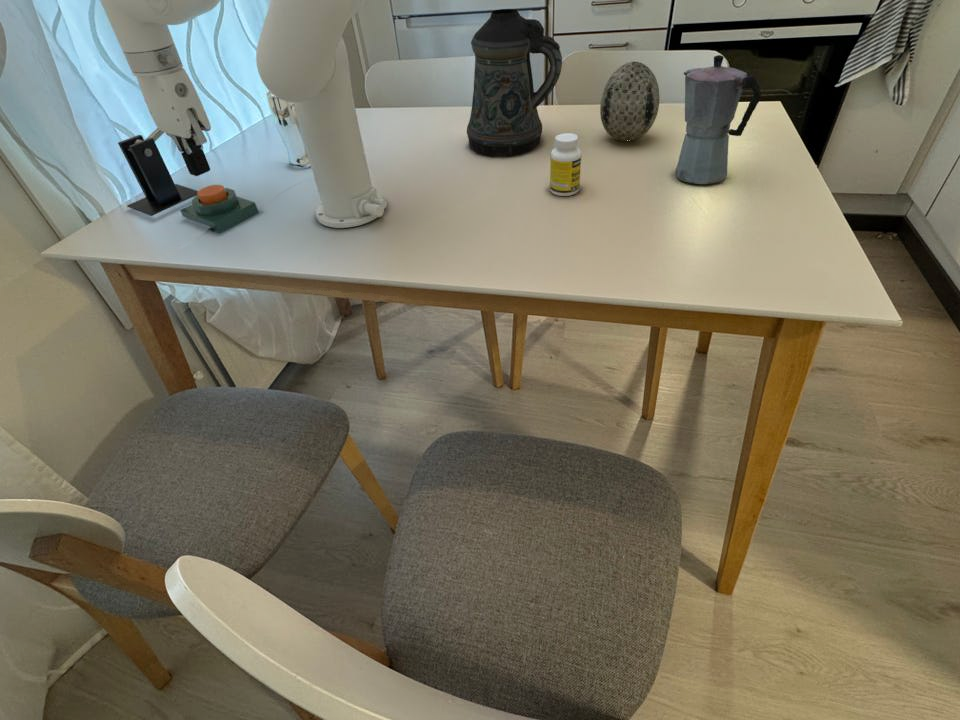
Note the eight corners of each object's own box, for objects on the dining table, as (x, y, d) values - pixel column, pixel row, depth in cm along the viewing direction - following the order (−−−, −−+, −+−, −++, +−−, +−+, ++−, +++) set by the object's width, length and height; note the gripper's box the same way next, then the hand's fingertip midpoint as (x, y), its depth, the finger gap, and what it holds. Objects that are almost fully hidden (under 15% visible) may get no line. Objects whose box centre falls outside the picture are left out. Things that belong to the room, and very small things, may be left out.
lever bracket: (178, 189, 116) (149, 127, 108) (203, 197, 112) (174, 133, 104) (129, 210, 110) (94, 147, 101) (153, 220, 106) (119, 155, 97)
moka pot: (684, 157, 108) (704, 43, 95) (755, 181, 99) (789, 57, 85) (652, 172, 105) (668, 55, 91) (722, 198, 95) (752, 71, 82)
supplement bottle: (574, 198, 99) (576, 144, 92) (545, 195, 101) (546, 141, 94) (583, 186, 103) (586, 132, 96) (555, 182, 104) (556, 130, 98)
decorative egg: (587, 138, 120) (591, 62, 109) (629, 125, 123) (637, 51, 113) (621, 155, 112) (629, 75, 102) (666, 141, 115) (678, 62, 105)
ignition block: (259, 212, 105) (251, 193, 102) (219, 234, 100) (210, 213, 97) (224, 201, 110) (216, 182, 107) (184, 220, 105) (175, 201, 102)
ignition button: (232, 196, 103) (229, 187, 101) (210, 207, 100) (206, 198, 99) (217, 191, 105) (214, 182, 104) (195, 201, 102) (191, 193, 101)
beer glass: (311, 170, 118) (290, 96, 108) (282, 169, 120) (258, 97, 110) (324, 157, 123) (305, 85, 113) (296, 157, 125) (275, 86, 115)
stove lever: (175, 116, 109) (166, 105, 107) (191, 120, 107) (182, 109, 105) (132, 157, 106) (122, 147, 104) (147, 162, 103) (137, 152, 101)
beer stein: (462, 135, 127) (449, 9, 110) (543, 123, 128) (543, -3, 112) (475, 163, 114) (464, 25, 98) (565, 149, 116) (569, 11, 99)
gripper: (202, 58, 85) (243, 172, 98) (150, 50, 92) (195, 157, 105) (158, 71, 81) (207, 189, 93) (107, 61, 88) (159, 172, 100)
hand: (200, 172), depth 99 cm, fingers closed
